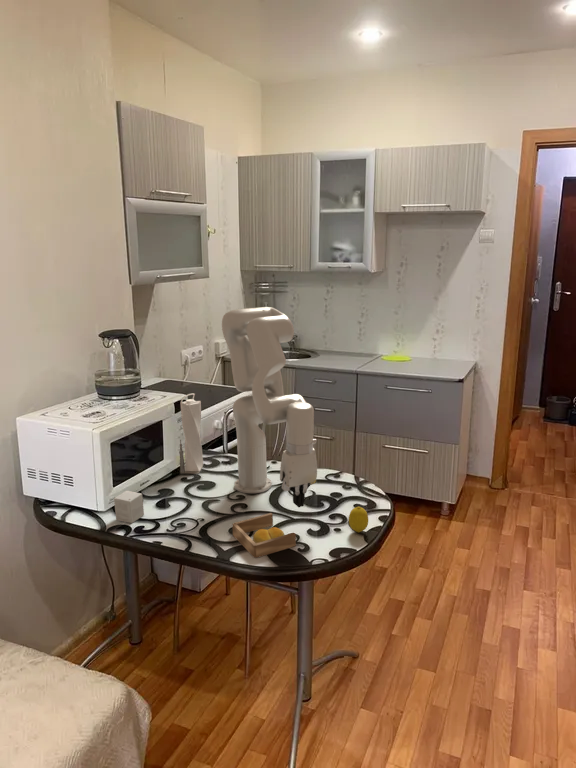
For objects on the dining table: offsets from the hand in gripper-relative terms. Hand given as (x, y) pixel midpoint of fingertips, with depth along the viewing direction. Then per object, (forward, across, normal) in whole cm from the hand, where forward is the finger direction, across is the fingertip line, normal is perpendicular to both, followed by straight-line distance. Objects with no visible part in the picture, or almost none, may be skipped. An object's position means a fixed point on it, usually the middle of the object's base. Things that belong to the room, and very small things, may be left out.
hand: (298, 504), depth 170 cm
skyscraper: (+11, +11, -57) cm, 59 cm away
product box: (+9, +41, -31) cm, 52 cm away
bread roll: (+7, +11, +4) cm, 14 cm away
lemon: (+7, -13, +12) cm, 19 cm away
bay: (+7, +12, +2) cm, 14 cm away
